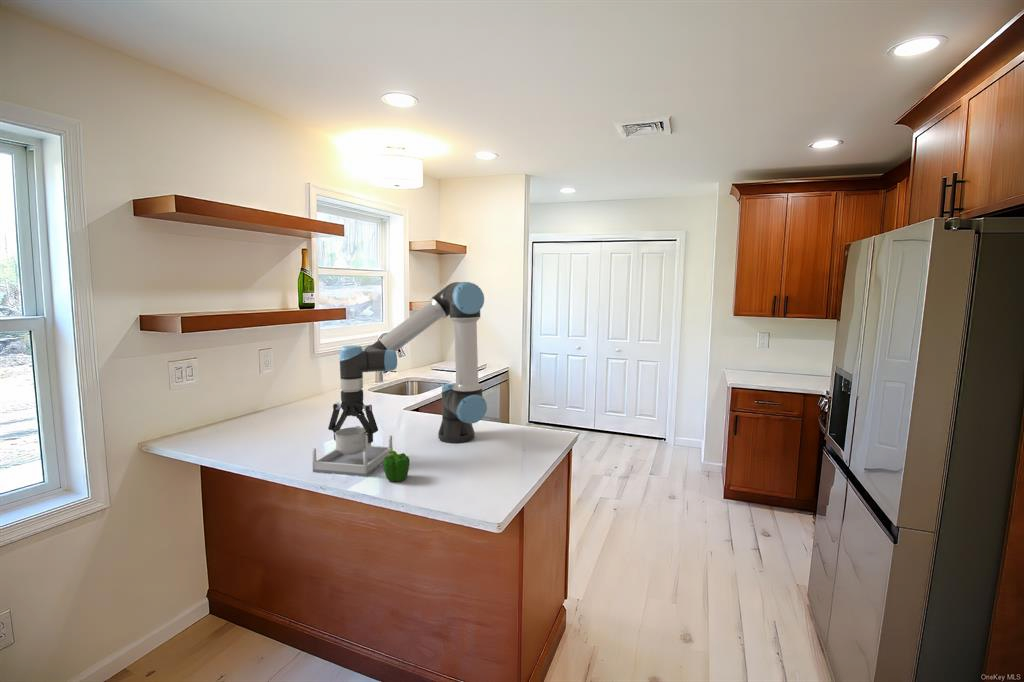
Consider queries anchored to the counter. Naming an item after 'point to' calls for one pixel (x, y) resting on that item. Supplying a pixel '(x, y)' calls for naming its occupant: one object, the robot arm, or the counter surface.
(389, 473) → the bell pepper
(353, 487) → the counter surface
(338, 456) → the dish rack
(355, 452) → the teacup
